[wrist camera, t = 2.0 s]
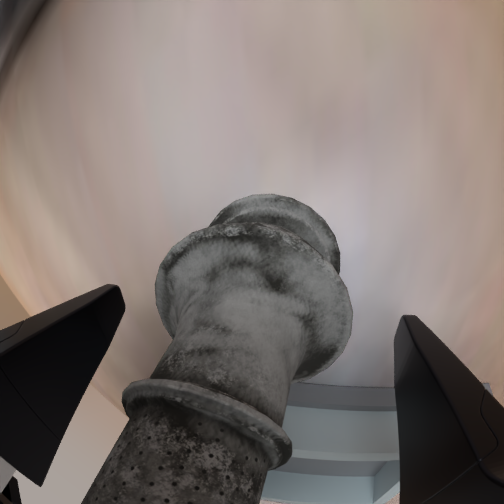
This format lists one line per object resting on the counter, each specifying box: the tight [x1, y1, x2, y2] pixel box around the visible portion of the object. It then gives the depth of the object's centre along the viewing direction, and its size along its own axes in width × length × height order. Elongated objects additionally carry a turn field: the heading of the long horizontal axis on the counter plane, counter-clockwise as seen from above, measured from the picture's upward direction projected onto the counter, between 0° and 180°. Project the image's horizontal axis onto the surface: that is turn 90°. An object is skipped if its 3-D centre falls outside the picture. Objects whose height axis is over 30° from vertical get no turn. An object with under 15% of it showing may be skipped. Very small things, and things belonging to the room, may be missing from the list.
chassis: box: [260, 383, 493, 504], centre depth 15 cm, size 18×12×4 cm, turn 92°
